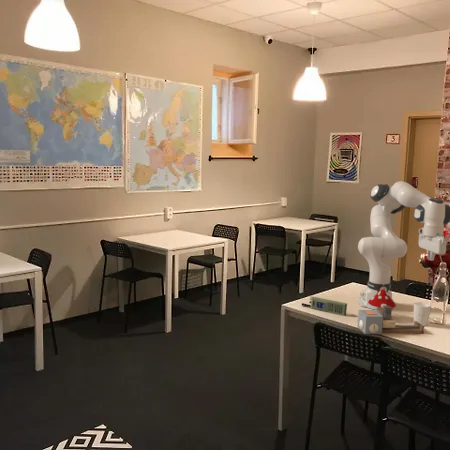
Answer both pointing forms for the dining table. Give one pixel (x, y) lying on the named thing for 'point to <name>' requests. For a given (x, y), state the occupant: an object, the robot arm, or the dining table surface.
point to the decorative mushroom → (381, 301)
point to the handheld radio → (327, 306)
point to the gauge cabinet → (370, 322)
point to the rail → (405, 329)
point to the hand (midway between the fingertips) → (430, 260)
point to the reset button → (370, 313)
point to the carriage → (388, 318)
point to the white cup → (421, 313)
